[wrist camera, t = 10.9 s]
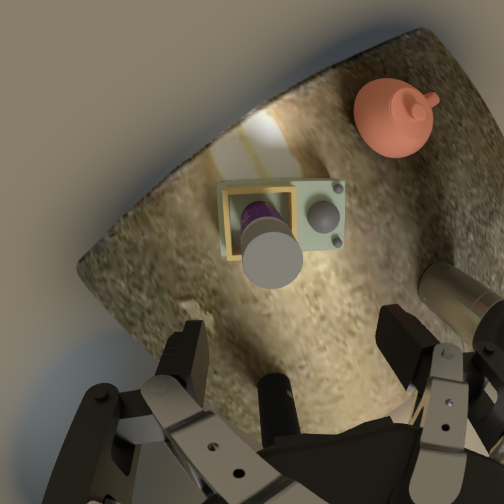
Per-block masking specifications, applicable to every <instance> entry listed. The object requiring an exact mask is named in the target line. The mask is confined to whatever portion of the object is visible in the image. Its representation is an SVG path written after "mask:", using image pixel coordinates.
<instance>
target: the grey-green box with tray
mask: <svg viewBox="0 0 504 504" xmlns="http://www.w3.org/2000/svg"><path fill="white" fill-rule="evenodd" d="M216 193H217V207H218V220H219V233H220V246H221V256H227V261H232V260H242V253H241V215H242V212H243V210H244V209H245V207H246V206H247V205H249V204H250V203H252V202H255V201H265V202H268V203H270V204H271V205H273V206H274V207H275V209H276V210H277V211H278V213H279V214H280V216H281V217H282V218H283V220H284V221H285V222H286V224H287V225H288V227H289V228H290V230H291V232H292V234H293V235H294V237H295V239H296V241H297V242H298V244H299V246H300V248H301V250H302V252H303V251H320V250H337V249H343V247H344V221H345V181H343V180H339V179H334V178H282V179H256V180H237V181H221V182H219V183H218V184H216Z"/></svg>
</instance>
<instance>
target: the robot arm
mask: <svg viewBox="0 0 504 504" xmlns="http://www.w3.org/2000/svg"><path fill="white" fill-rule="evenodd" d="M418 294H419V298H420V300H421V301H422V302H423V303H424V304H425V305H426V306H427V307H428V308H429V309H430V310H431V311H432V312H434V313H435V314H436V315H437V316H438V317H439V318H440V319H441V320H442V321H443V322H444V323H445V324H446V325H447V326H448V327H450V328H451V329H452V330H453V331H454V332H455V333H456V334H457V335H458V336H459V337H460V338H461V339H462V340H463V341H464V342H465V343H466V344H467V345H468V346H469V347H470V348H471V349H472V350H473V351H474V352H468V353H462V351H461V349H460V348H459V347H457V346H456V345H454V344H451V343H440V342H439V341H438V340H437V339H436V338H435V337H434V335H433V334H432V333H431V332H430V331H429V330H428V329H426V327H425V326H424V325H423V324H421V322H420V321H419V320H418V319H417V318H416V317H415V316H413V315H411V314H409V313H408V312H405V311H404V310H403V309H402V308H401V307H400V306H399V305H398V304H391V305H384V306H382V307H381V309H380V313H379V319H378V324H377V329H376V335H375V339H376V344H377V346H378V348H379V349H380V351H381V352H382V354H383V355H384V357H385V359H386V360H387V362H388V363H389V365H390V366H391V368H392V369H393V371H394V372H395V374H396V376H397V377H398V379H399V380H400V382H401V384H402V385H403V387H404V388H405V390H406V391H410V390H413V389H417V390H418V391H417V393H416V396H415V400H414V404H413V407H412V411H411V415H410V419H409V422H408V424H403V423H393V421H392V419H391V417H390V416H388V417H384V418H380V419H376V420H372V421H368V422H364V423H362V424H360V425H358V426H356V427H354V428H352V429H349V430H347V431H345V432H343V433H340V434H336V435H330V434H306V433H305V434H297V435H288V436H278V437H274V445H273V446H270V447H267V448H264V449H262V450H260V451H258V452H256V453H255V452H254V451H253V450H252V449H251V448H250V447H249V446H248V445H247V444H246V443H244V442H243V441H242V440H241V439H240V438H239V437H238V436H237V435H236V434H235V433H234V432H233V431H232V430H231V429H230V428H228V426H227V425H225V423H224V422H223V421H222V420H221V419H220V418H219V417H218V416H217V415H216V414H214V413H213V412H212V411H209V410H208V411H207V412H205V411H204V410H203V403H204V395H205V388H206V380H207V373H208V365H209V349H208V342H207V336H206V330H205V324H204V321H203V320H190V321H186V323H185V326H184V329H183V332H174V333H173V334H172V335H171V336H170V337H169V338H168V340H167V343H166V345H165V348H164V351H163V354H162V356H161V359H160V362H159V365H158V368H157V370H156V373H155V376H153V377H151V378H149V379H147V380H146V381H145V382H144V383H143V384H142V386H141V389H139V390H135V391H129V392H121V393H119V391H118V389H117V388H116V387H115V386H114V385H112V384H109V383H100V384H97V385H94V386H92V387H91V388H89V389H88V390H87V392H86V393H85V395H84V397H83V399H82V402H81V404H80V406H79V408H78V410H77V412H76V415H75V417H74V419H73V422H72V424H71V426H70V429H69V431H68V433H67V436H66V438H65V440H64V443H63V445H62V448H61V450H60V453H59V456H58V458H57V461H56V463H55V466H54V469H53V471H52V474H51V477H50V480H49V483H48V486H47V489H46V492H45V495H44V498H43V501H42V504H131V501H132V494H133V488H134V482H135V476H136V470H137V465H138V460H139V455H140V450H141V445H142V444H143V443H149V442H156V441H162V440H163V441H164V443H165V444H166V446H167V447H168V448H169V450H170V451H171V453H172V454H173V456H174V457H175V458H176V459H177V461H178V462H179V463H180V465H181V466H182V468H183V469H184V470H185V471H186V473H187V474H188V476H189V477H190V479H191V480H192V482H193V483H194V484H195V486H196V487H197V488H198V489H199V491H200V492H201V493H202V494H203V495H204V496H205V498H206V500H205V501H204V502H203V503H202V504H504V299H503V298H502V297H500V296H499V295H498V294H496V293H494V292H493V291H492V290H490V289H489V288H487V287H486V286H484V285H483V284H481V283H480V282H478V281H477V280H475V279H474V278H472V277H471V276H469V275H467V274H466V273H464V272H463V271H461V270H459V269H458V268H456V267H454V266H452V265H451V264H449V263H447V262H446V261H438V262H435V263H434V264H432V265H431V266H430V267H429V268H428V269H427V270H426V271H425V272H424V274H423V276H422V278H421V280H420V283H419V288H418ZM488 382H490V383H491V384H492V385H493V387H494V388H495V389H496V391H497V393H498V398H497V401H496V403H495V404H494V403H493V401H492V400H491V399H490V397H489V396H488V394H487V393H486V392H485V390H484V389H485V387H486V385H487V383H488ZM467 418H468V419H469V421H470V422H471V424H472V426H473V428H474V429H475V431H476V432H477V434H478V436H479V438H480V439H481V441H482V443H483V445H484V446H485V448H486V450H487V452H488V454H489V457H486V456H484V455H481V454H479V453H476V452H474V451H471V450H469V449H466V448H464V444H465V436H466V426H467Z"/></svg>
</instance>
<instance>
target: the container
mask: <svg viewBox="0 0 504 504" xmlns="http://www.w3.org/2000/svg"><path fill="white" fill-rule="evenodd" d="M241 253H242V265H243V269H244V272H245V274H246V276H247V277H248V279H249V280H250V281H251V282H253V283H254V284H255V285H257V286H259V287H262V288H266V289H277V288H281V287H284V286H286V285H288V284H290V283H291V282H292V281H293V280H294V279H295V278H296V277H297V276H298V274H299V273H300V271H301V268H302V264H303V254H302V250H301V248H300V246H299V244H298V242H297V241H296V239H295V237H294V235H293V234H292V232H291V230H290V228H289V227H288V225H287V224H286V222H285V221H284V220H283V218H282V217H281V216H280V214H279V213H278V211H277V210H276V209H275V207H274V206H273V205H271V204H270V203H268V202H265V201H255V202H252V203H250V204H249V205H247V206H246V207H245V209H244V210H243V212H242V215H241Z"/></svg>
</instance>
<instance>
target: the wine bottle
mask: <svg viewBox="0 0 504 504" xmlns="http://www.w3.org/2000/svg"><path fill="white" fill-rule="evenodd" d="M258 399H259V412H260V424H261V436H262V446H263V449H264V448H267V447H270V446H273V445H274V437H278V436H288V435H297V434H301V432H300V427H299V422H298V418H297V413H296V408H295V403H294V399H293V394H292V389H291V384H290V380H289V379H288V377H286V376H285V375H282V374H269V375H266V376H264V377H263V378H262V379H260V381H259V382H258Z"/></svg>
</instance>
